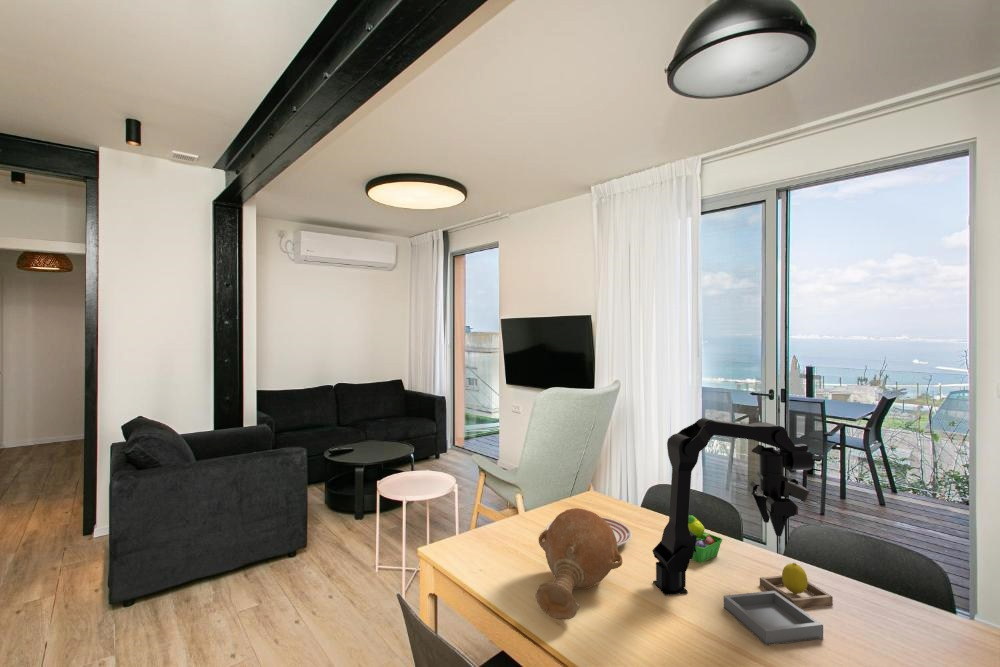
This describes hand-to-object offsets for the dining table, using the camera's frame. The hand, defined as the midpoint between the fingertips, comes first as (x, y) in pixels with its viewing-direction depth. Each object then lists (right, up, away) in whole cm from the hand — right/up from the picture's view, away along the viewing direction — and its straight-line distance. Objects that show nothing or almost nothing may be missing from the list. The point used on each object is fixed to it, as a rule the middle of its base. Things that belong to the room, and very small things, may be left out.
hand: (772, 528), depth 124 cm
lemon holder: (+2, -14, -6) cm, 16 cm away
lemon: (+2, -14, -6) cm, 16 cm away
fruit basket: (-13, -15, +16) cm, 25 cm away
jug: (-55, -14, -5) cm, 57 cm away
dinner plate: (-44, -15, +27) cm, 54 cm away
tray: (-11, -14, -18) cm, 25 cm away
